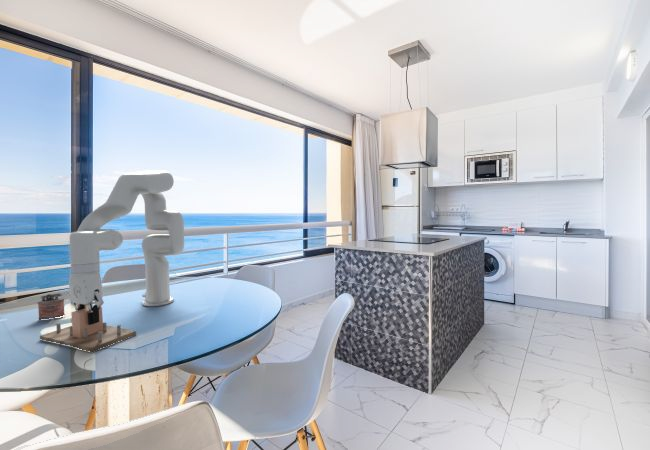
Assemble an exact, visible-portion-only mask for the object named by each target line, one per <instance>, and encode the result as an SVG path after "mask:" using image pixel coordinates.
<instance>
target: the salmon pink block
mask: <svg viewBox="0 0 650 450" xmlns="http://www.w3.org/2000/svg"><path fill="white" fill-rule="evenodd" d="M93 306H94V305H92V307H93ZM70 313H71V315H70V316H71V326H72V331H73V337H78V338H82V337H84V334H83V329H87V334H88V335H90V334H93V333H96V332H99V331H102V330H103V323H104V319H103V307H102V306H101V307H100V310H99V322H98V323H95V324H92V325H88V313H89V309H88V307H86V308H85V309H81V310H77V311H76V310H74V311H71V312H70Z"/></svg>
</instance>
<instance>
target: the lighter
mask: <svg viewBox="0 0 650 450" xmlns="http://www.w3.org/2000/svg"><path fill="white" fill-rule="evenodd" d="M40 296H41V300H37V306H38V307H37V309H38V319H39V320H41V319H49V318H55V317H60V316H63V315H65V316H66V314H65V297H62V296H63V293H62V292H57V293H56V292H55V293H52V292H50V293H48V294H42V295H40Z"/></svg>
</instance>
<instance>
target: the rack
mask: <svg viewBox="0 0 650 450" xmlns="http://www.w3.org/2000/svg"><path fill="white" fill-rule="evenodd" d="M55 325H56V330H54V331H51V332H47V333H44V334H42V335H39V340H40V339H42V340H46V341H51V342H56V343H60V344H65V345H70V346H73V347H77V348H79V349H82V350H86V351H90V352H93V353H95V352H94V351H96V350H98V349H100V348H103V347H106V346H108V345H111V344H113V343H115V344H117V343H116V342H118V341H120V342H122V341H121V340H123V341H125V340H127V339H126V338H128V337H130V338H132V337H131V336H133V335H135V336H136V335H137V331H136V330H133V329H128V328H124V327H121V326H122V325H121V324H117V325H116V326H113V325H109V324H108V325H107V322H106V321H103V330H102V331H99V332H96V333H93V334H90V335H88V334H87V329H83V334H84V337H82V338H78V337H73V331H72V325H70V326H67V327H64V328H61V323H60V322H57V323H56V324H55ZM133 337H134V336H133ZM124 339H125V340H124ZM128 339H129V338H128ZM118 343H119V342H118ZM113 345H114V344H113ZM111 346H112V345H111ZM108 347H109V346H108ZM106 348H107V347H106ZM103 349H104V348H103ZM98 351H99V350H98ZM96 352H97V351H96Z"/></svg>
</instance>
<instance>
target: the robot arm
mask: <svg viewBox="0 0 650 450" xmlns="http://www.w3.org/2000/svg"><path fill="white" fill-rule="evenodd" d="M174 183H175V182H174V176H173V175H172V174H171V173H170V172H169V171H167V170H144V171H143V170H142V171H141V170H140V171H136V172H128V173H127V172H126V173H123V174H122V175H120V176H119V177H118V179H117V181H116V182H115V184H114V186H113V188H112V190H111V192H110V194H109V196H108V197H107V198H108V199H107V200H106V201H105V202H104V203H102V204H101V205H100V206H98V207H96V208H95V209H94V210H93V211H91V212H90V213H88V215H86V216H85V217H84V219H82V221H81V223H80V225H79V226H78V228H77V230H76V231H74V232H72V233H70V234H69V255H70V256H69V257H70V272H71V273H70V276H69V286H68V289H69V292H68V297H69V302H71V303H73V305H74V306H75V307H74V308H75V310H74V311H78V310H81V309H85V308H88V309H89V313H88V325H92V324H95V323H98V322H99V310H100V307H102V306H103V305H104V304H105V301H104V299H103V283H102V278H101V263H100V251H113V250H116V249H119V248H120V246H121V245H122V243H123V242H124V241H123V240H124V238H123V235H122V233H121V232H119V231H117V230H116V229H112V228H111V229H110V228H109V229H108V228H107V229H105V228H102V227H103V226H105V225H107V224H108V223H110V222H112V221H114V220H116V219H120V218H122V217H124V216H126V215H128V214H130V213H131V212H132V210H133V207H134V205H135V203H136V201H137V199H138V197H139V195H141V196H142V198H143V201H144V223H145V227H146V229H147V230H149V231H152V232H168V234H166V233H164V234H163V233H154V234H148V235H146V236H144V238H143V239H142V241H141V250H142V253H143V257H144V266H145V293H142V295H141V296H142V297H143V298H145V299H144V300H143V301H142V305H143V306H144V307H160V306H165V305H169V304H171V303H172V302H174V300H175V299H174V297H173V296H171V293H170V292H171V291H170V290H171V289H170V265H169V261H168V259H167V257H166V256H177V255H180V254H182V252H183V251H184V248H185V225H184V224H185V222H184V218H183V215H182V213H180V212H179V211H178V210H169V209H168V210H167V201H166V197H165V196H164V194H163V193H165V192H168V191H169V190H172V188H173V186H174ZM92 306H93V307H92Z"/></svg>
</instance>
